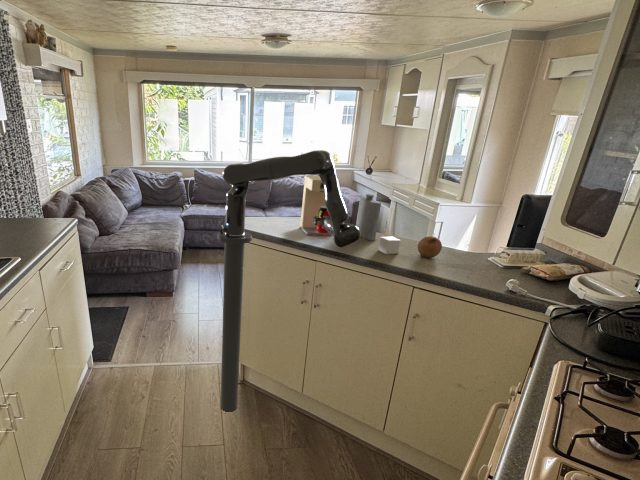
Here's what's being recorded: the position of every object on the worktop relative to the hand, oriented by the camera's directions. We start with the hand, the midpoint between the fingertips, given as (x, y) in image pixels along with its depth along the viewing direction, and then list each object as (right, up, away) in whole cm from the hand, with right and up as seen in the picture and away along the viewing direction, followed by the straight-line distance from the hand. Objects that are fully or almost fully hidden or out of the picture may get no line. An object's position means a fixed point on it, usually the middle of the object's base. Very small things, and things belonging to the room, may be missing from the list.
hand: (323, 217), depth 202 cm
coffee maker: (-1, -5, +12) cm, 13 cm away
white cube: (+25, -18, -15) cm, 35 cm away
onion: (+41, -21, -20) cm, 50 cm away
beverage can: (0, -7, +1) cm, 7 cm away
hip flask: (+21, -8, +7) cm, 24 cm away
